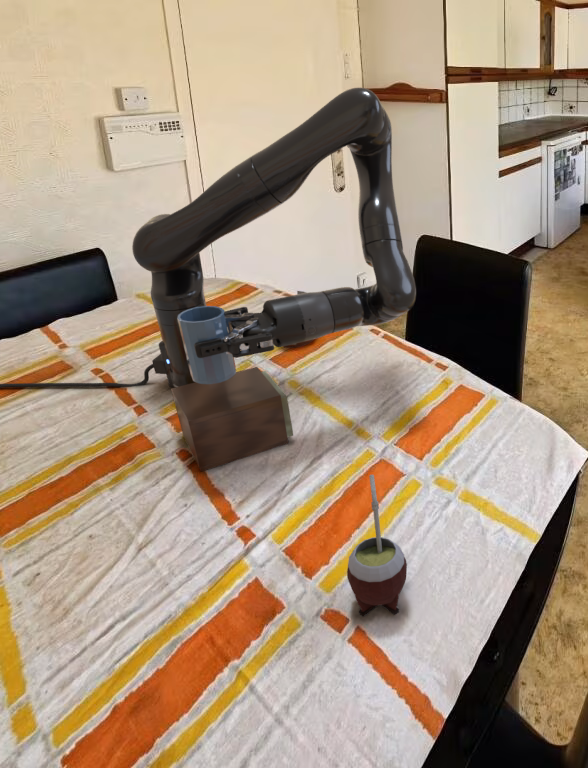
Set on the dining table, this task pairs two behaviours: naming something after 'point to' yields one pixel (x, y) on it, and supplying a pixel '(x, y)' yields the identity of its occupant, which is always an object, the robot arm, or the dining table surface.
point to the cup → (201, 328)
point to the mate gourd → (377, 569)
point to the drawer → (284, 405)
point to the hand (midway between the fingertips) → (190, 342)
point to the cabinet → (230, 418)
